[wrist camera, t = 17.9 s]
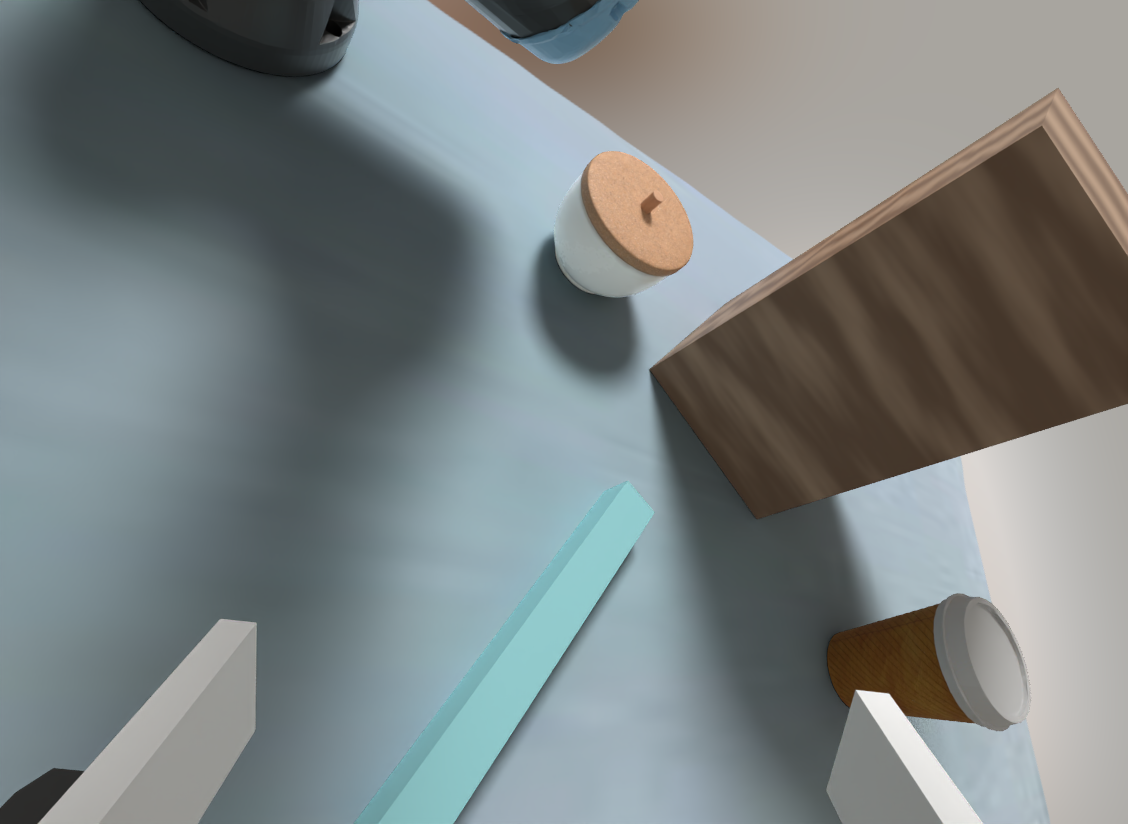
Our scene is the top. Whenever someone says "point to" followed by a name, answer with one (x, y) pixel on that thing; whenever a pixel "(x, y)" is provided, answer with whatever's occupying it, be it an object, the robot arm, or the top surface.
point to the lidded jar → (620, 228)
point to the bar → (510, 670)
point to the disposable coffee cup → (938, 663)
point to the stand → (923, 323)
